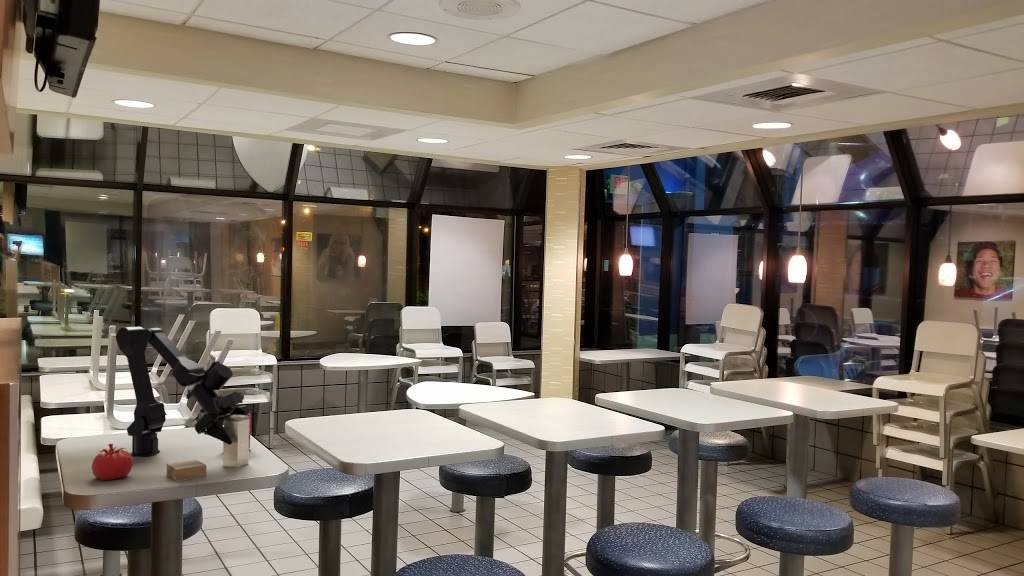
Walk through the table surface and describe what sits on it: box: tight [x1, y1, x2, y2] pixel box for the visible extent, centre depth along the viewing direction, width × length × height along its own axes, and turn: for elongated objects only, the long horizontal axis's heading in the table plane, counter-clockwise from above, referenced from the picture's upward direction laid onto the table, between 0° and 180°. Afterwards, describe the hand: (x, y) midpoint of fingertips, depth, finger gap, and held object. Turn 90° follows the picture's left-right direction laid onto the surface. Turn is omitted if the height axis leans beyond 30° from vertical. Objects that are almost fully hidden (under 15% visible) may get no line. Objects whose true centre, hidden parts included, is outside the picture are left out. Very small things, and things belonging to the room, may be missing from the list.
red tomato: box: [91, 443, 134, 481], centre depth 210 cm, size 10×10×9 cm
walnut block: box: [166, 459, 208, 482], centre depth 214 cm, size 8×8×4 cm
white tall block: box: [222, 415, 250, 469], centre depth 226 cm, size 5×5×14 cm
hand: (240, 441), depth 226 cm, fingers open, 7 cm apart
